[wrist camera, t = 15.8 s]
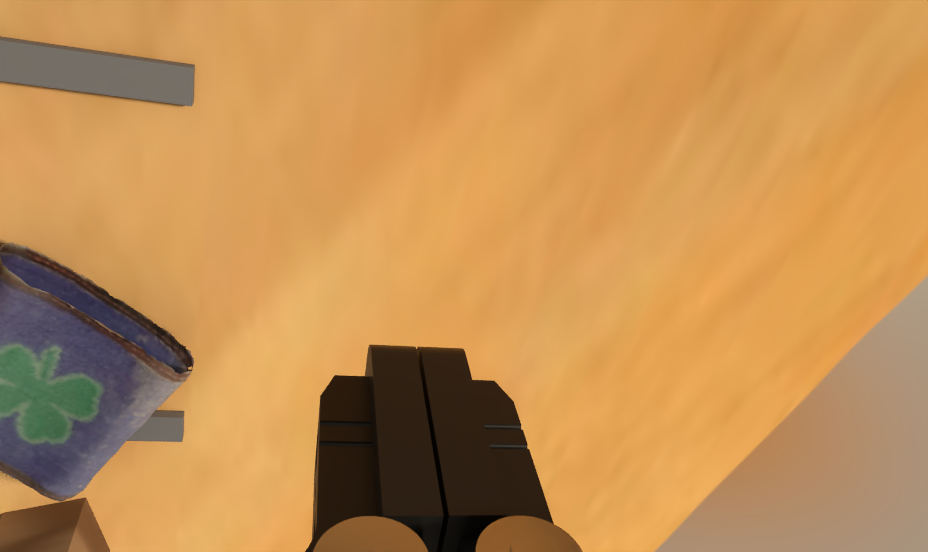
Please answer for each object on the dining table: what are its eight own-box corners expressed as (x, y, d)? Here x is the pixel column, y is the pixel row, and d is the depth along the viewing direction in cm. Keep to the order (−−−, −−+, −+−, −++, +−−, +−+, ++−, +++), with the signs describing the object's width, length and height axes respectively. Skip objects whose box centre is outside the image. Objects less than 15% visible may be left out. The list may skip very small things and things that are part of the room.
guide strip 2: (184, 411, 36) (182, 417, 36) (183, 435, 37) (182, 441, 37) (-206, 399, 32) (-213, 406, 32) (-199, 426, 33) (-206, 433, 33)
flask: (194, 381, 32) (47, 536, 34) (200, 346, 35) (63, 491, 37) (-14, 259, 28) (-169, 444, 30) (10, 228, 31) (-134, 400, 32)
